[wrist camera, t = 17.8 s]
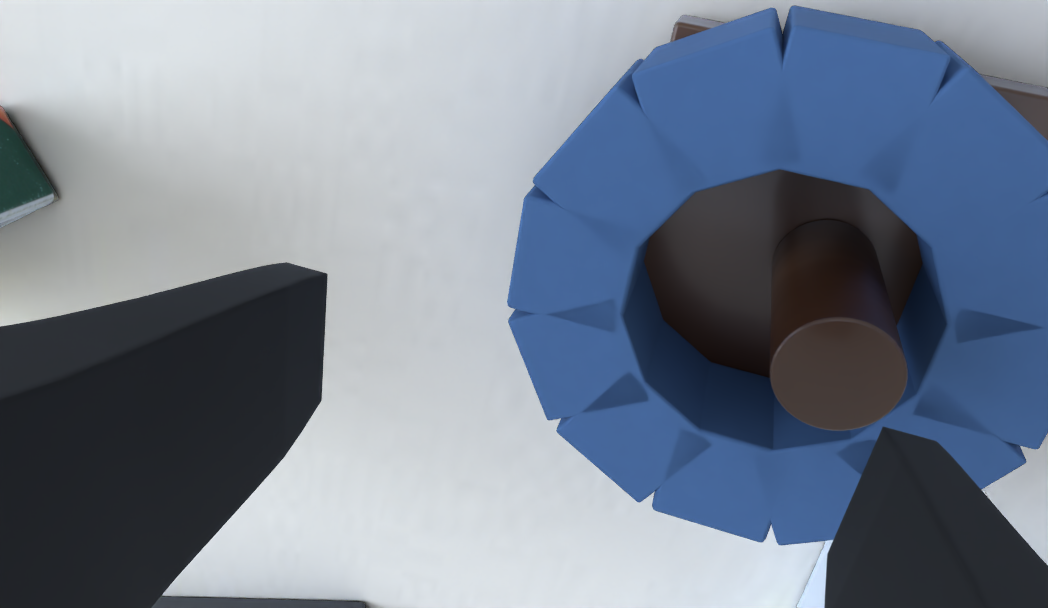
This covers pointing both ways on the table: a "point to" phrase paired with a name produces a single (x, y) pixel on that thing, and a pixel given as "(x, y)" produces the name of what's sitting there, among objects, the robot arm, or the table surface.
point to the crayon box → (19, 176)
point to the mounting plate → (816, 582)
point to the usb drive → (249, 603)
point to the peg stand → (799, 280)
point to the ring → (814, 150)
